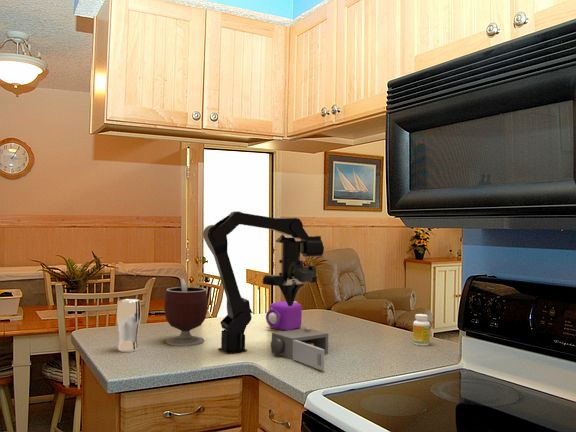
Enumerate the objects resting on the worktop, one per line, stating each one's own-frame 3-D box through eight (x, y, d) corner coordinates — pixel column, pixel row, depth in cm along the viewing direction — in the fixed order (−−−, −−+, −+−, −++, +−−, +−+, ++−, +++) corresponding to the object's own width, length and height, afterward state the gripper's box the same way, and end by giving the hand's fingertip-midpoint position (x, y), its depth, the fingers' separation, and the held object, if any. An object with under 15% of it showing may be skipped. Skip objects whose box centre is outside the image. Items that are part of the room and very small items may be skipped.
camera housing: (286, 360, 161) (286, 336, 161) (266, 353, 169) (266, 330, 169) (327, 353, 171) (328, 330, 171) (307, 346, 179) (307, 325, 179)
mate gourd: (210, 345, 179) (212, 282, 179) (166, 347, 174) (168, 283, 174) (201, 335, 193) (202, 277, 194) (160, 337, 189) (161, 278, 189)
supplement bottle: (424, 346, 183) (424, 316, 183) (409, 343, 186) (410, 314, 186) (432, 344, 187) (432, 315, 187) (418, 341, 190) (418, 312, 190)
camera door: (290, 359, 161) (291, 340, 161) (295, 358, 162) (295, 339, 162) (319, 370, 149) (319, 350, 149) (324, 369, 150) (324, 349, 150)
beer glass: (130, 353, 166) (131, 302, 166) (111, 351, 168) (112, 301, 168) (144, 348, 172) (145, 299, 172) (125, 346, 174) (126, 298, 175)
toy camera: (260, 330, 204) (261, 303, 204) (278, 324, 216) (279, 298, 216) (287, 333, 199) (287, 305, 199) (303, 327, 211) (304, 301, 211)
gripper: (286, 259, 166) (285, 312, 166) (329, 257, 179) (328, 306, 179) (262, 257, 174) (261, 307, 174) (305, 255, 187) (304, 302, 187)
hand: (290, 306), depth 178 cm, fingers closed
